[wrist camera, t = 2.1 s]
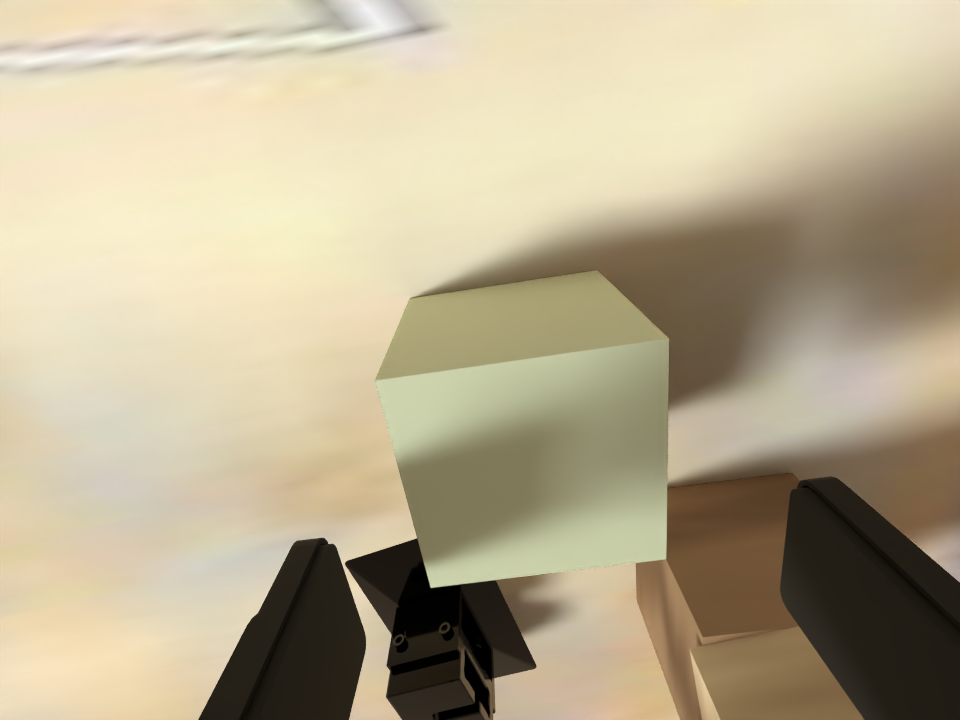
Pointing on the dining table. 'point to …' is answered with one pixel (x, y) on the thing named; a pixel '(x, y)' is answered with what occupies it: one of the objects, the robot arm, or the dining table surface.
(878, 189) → the dining table surface
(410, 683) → the black boxy piece
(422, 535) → the sage block
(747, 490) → the tower base
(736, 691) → the tower top
